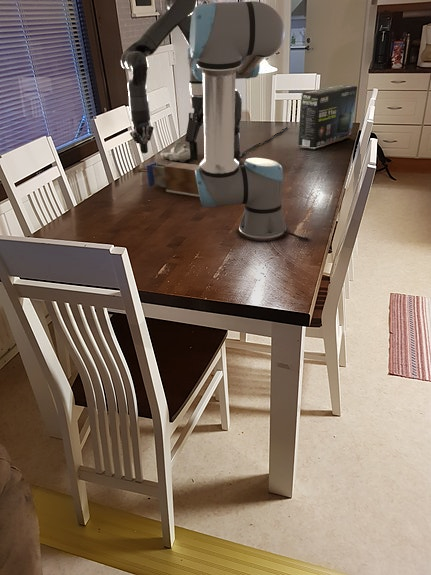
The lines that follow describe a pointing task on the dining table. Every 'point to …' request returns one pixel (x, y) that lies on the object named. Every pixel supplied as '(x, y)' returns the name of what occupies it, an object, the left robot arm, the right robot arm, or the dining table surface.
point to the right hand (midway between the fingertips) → (203, 155)
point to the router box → (326, 115)
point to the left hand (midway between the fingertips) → (144, 152)
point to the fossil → (177, 153)
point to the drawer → (155, 174)
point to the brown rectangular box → (181, 178)
